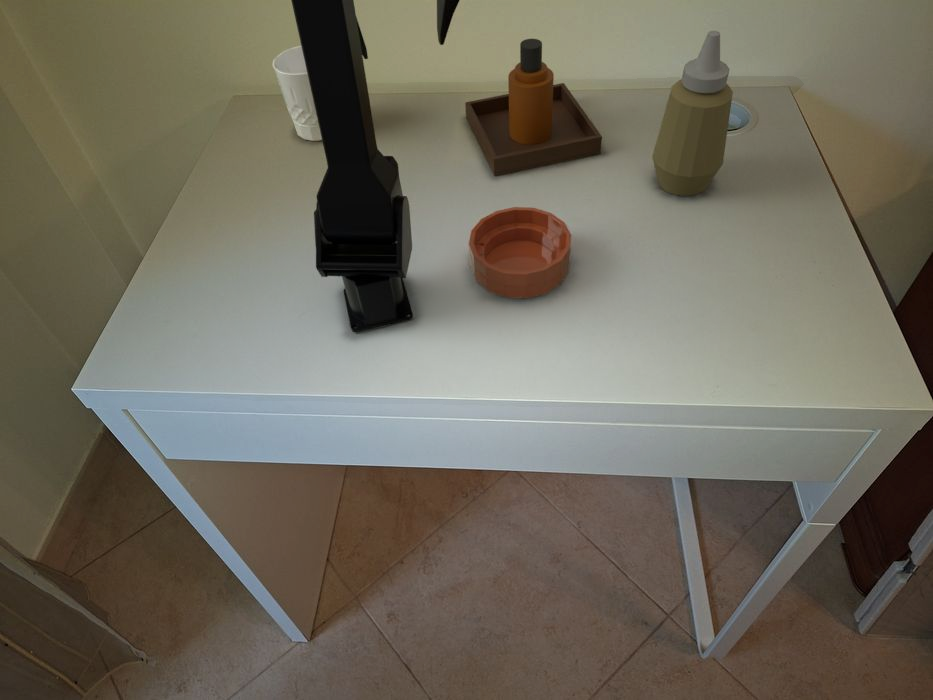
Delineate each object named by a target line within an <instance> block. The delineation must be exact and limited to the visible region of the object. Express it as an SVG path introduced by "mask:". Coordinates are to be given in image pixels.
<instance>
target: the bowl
mask: <svg viewBox="0 0 933 700" xmlns="http://www.w3.org/2000/svg"><path fill="white" fill-rule="evenodd" d="M571 244H572V233H571V232H570V230H569V228H568V226H567V225H566V223H565V221H564V220H562V219H561V218H559V217H558V216H556V214H554V213H552V212H549V211H546V210H543V209H540V208H536V207H530V206H529V207H528V206H527V207H526V206H525V207H524V206H512V207H508V208H504V209H499V210H495V211H493V212H491V213H490V214H488V215H486V216H484V217H482V218H480V219H479V221H478V222H477V223H476V224H475V225H474V227H473V228H472V229H471V231H470V235H469V240H468V250H469V251H468V253H469V263H470V270H471V272H472V274H473V277H474V280H475V281H476V282H477V283H478V284H479V285H480V286H481V287H482V288H484V289H485V290H486V291H488V292H490V293H492V294H496V295H498V296H501V297H504V298H511V299H512V298H513V299H530V298H533V297H534V298H535V297H538V296H542V295H546V294H547V293H549V292H551V291H552V290H555V289H556V288H557V287H560V285H562V283H563V281H564V280H565V279H566V277H567V276H568V274H569V272H570V260H571V258H570V257H571Z"/></svg>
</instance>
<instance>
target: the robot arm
mask: <svg viewBox="0 0 933 700" xmlns="http://www.w3.org/2000/svg"><path fill="white" fill-rule="evenodd" d="M290 1H291V5H292V10H293V14H294V15H293V16H294V19H295V23H296V27H297V31H298V37H299V42H300V46H302V51H303V55H304V60H305V65H306V69H307V74H308V78H309V83H310V87H311V92H312V96H313V101H314V105H315V110H316V114H317V119H318V124H319V128H320V133H321V137H322V140H321V141H322V146H323V150H324V154H325V160H326V165H327V169H326V171H325V173H324V176H323V179H322V181H321V184H320V186H319V188H318V191H317V192H316V207H315V210H314V212H313V222H314V223H313V224H314V241H315V242H314V243H315V245H314V246H315V269H316V271H317V272H318V273H319V275H320V277H322V278H328V277H341V280H342V282H343V286H344V289H343V296H344V301H345V305H346V311H347V317H348V322H349V326H350V330H351V332H352V333H356V334H357V333H360V332H365V331H369V330H373V329H374V330H375V329H378V328H383V327H387V326H390V325H395V324H399V323H404V322H407V321H408V322H409V321H411V320H413V318H414V312H413V309H412V305H411V301H410V298H409V295H408V292H407V289H406V285H405V281H404V279H406V278H407V276H408V275H407V274H408V270H409V265H410V260H411V255H412V251H413V235H412V224H411V223H412V221H411V210H410V201H409V199H408V196H407V195H404V194H403V189H402V184H401V179H400V171H399V163H398V161H397V160H396V158H395V157H394V155H384V154H383V153H382V152H381V151H380V150H379V149H378V143H377V137H376V131H375V126H374V120H373V114H372V107H371V101H370V94H369V87H368V82H367V77H366V70H365V64H364V60H368V59H369V55H368V49H367V46H366V42H365V39H364V36H363V32H362V30H361V27H360V24H359V21H358V18H357V14H356V8H355V1H354V0H290ZM459 2H460V0H436V31H437V40H438V43H439V45H440V46H443V45H444V44H445V41H446V38H447V35H448V32H449V29H450V25H451V22H452V19H453V16H454V15H455V11H456V9H457V7H458V5H459Z"/></svg>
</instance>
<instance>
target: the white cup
mask: <svg viewBox="0 0 933 700" xmlns="http://www.w3.org/2000/svg"><path fill="white" fill-rule="evenodd" d="M272 68H273V71H274V74H275V78H276V80H277V83H278V85H279V88H280V92H281V94H282V98H283V100H284V103H285V105H286V108H287V110H288V113H289V116H290V117H291V119H292V123H293V126H294V128H295V131H296V134H297V136H298V137H300V138H301V139H302V140H306V141H311V142H318V141H319V142H320V141H322V137H321V133H320V128H319V124H318V119H317V114H316V110H315V105H314V101H313V96H312V92H311V87H310V83H309V78H308V74H307V69H306V65H305V60H304V55H303V51H302V46H301V45H297V46H294V47H290V48H287V49H286V50H284V51H281V52H280V53H278V54H277V55H276V56H275V57H274V59H273V61H272Z"/></svg>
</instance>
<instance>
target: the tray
mask: <svg viewBox="0 0 933 700" xmlns="http://www.w3.org/2000/svg"><path fill="white" fill-rule="evenodd" d="M464 105H465V106H464V107H465V117H466V118H465V119H466V121H467V123H468V125H469V127H470V129H471V131H472V133H473V135H474V138H475V139H476V141H477V144H478V146H479V148H480V150H481V152H482V154H483V156H484V158H485V160H486V162H487V164H488V166H489V168H490V171H491V172H492V175H493V176H494V177H497V176H501V175H506V174H511V173H516V172H521V171H525V170H530V169H534V168H540V167H543V166H549V165H553V164H558V163H563V162H569V161H573V160H578V159H582V158H587V157H591V156H596V155H599V154H601V153H602V143H603V135H602V134H601V133H600V131H599V130H598V129H597V127H596V126H595V124H594V123H593V122H592V120H591V118H590V117H589V116H588V114H586V111H585V110H584V109H583V108H582V106H581V105H580V104H579V102H578V100H577V99H576V98H575V97H574V95H573V94H572V92H571V91H570V90H569V88H568V87H567V85H566V84H565V83H564V82H561V83H557V84H553V109H552V134H551V136H550V137H549V138H548V139H547V140H546V141H544V142H542V143H538V144H530V145H529V144H521V143H518V142H516V141H514V140H513V139H512V138H511V137H510V134H509V93H506V94H501V95H495V96H490V97H485V98H480V99H475V100H471V101H469V100H468V101H465V102H464Z"/></svg>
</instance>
